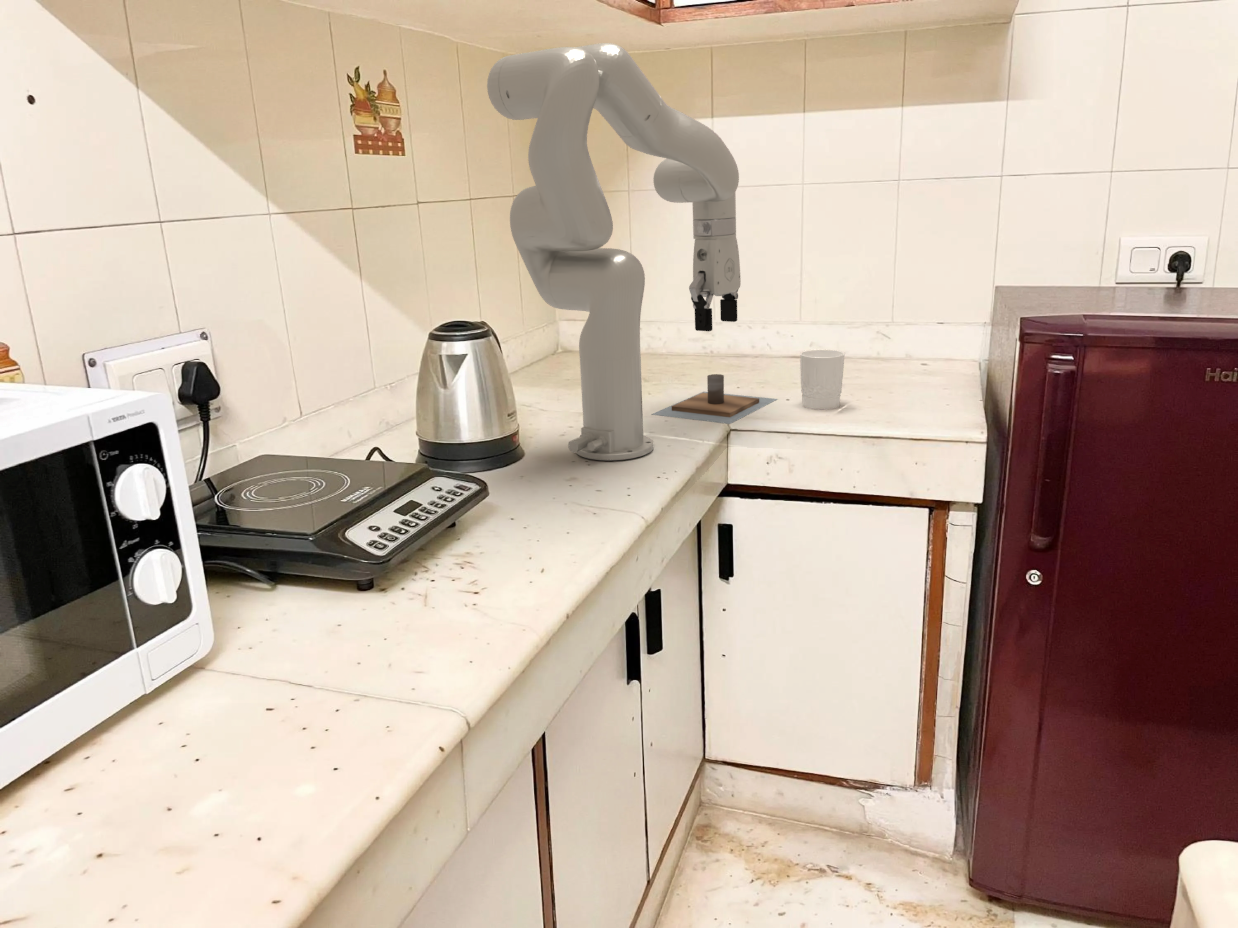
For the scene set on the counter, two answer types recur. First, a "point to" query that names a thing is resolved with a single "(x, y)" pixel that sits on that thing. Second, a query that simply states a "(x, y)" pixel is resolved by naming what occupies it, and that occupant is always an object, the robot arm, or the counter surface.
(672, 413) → the rubber mat
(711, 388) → the walnut cover
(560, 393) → the counter surface
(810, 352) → the white cup
